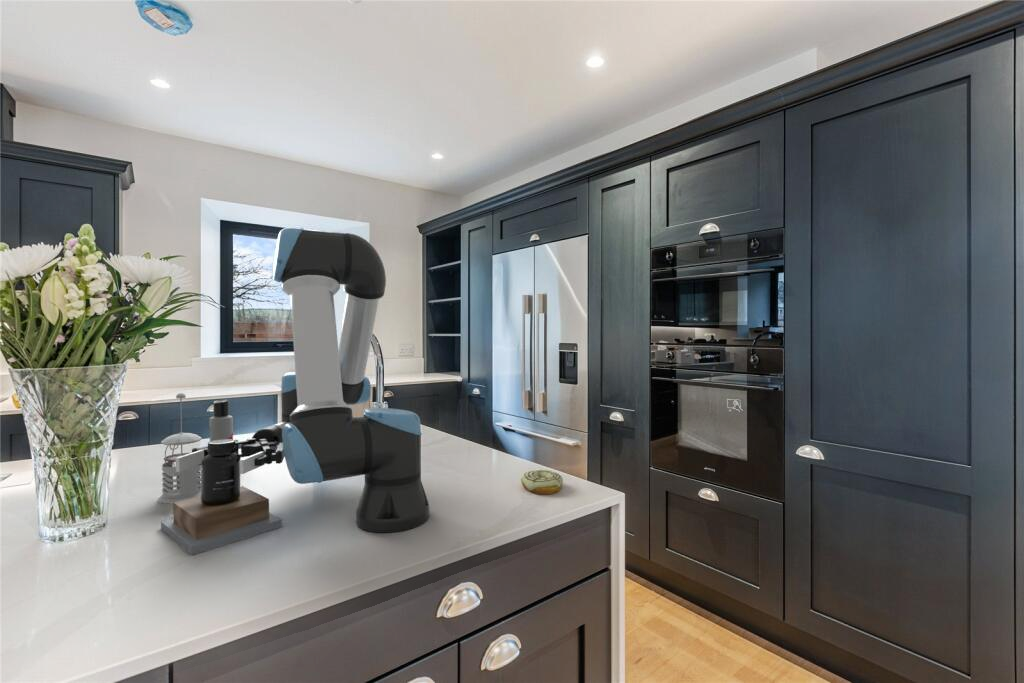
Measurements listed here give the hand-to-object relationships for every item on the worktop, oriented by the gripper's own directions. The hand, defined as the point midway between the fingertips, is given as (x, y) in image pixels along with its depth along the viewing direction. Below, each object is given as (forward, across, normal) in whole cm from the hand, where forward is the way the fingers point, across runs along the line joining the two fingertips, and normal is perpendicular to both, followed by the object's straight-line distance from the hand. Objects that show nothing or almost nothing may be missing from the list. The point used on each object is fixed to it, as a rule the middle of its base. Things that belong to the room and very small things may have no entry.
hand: (208, 466), depth 93 cm
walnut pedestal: (-3, 0, -12) cm, 12 cm away
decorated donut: (-35, -63, -14) cm, 74 cm away
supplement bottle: (-3, 0, -8) cm, 9 cm away
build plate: (-3, 0, -14) cm, 14 cm away
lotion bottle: (-42, +30, -14) cm, 53 cm away
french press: (-20, +24, -14) cm, 34 cm away
